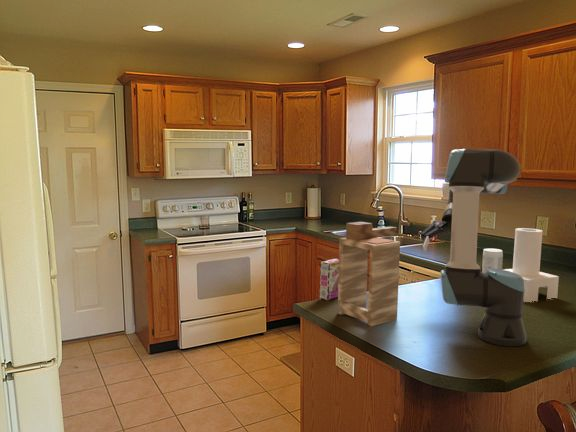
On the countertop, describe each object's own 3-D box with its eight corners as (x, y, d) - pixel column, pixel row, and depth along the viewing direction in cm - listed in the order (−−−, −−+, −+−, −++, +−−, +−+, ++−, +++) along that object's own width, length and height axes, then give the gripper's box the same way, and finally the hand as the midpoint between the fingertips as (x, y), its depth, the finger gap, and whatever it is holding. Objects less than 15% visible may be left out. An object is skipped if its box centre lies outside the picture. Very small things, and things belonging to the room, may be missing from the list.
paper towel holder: (492, 291, 223) (496, 228, 219) (521, 287, 230) (526, 226, 227) (526, 302, 206) (531, 234, 202) (557, 298, 213) (562, 231, 210)
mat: (394, 241, 179) (394, 240, 179) (376, 244, 173) (376, 243, 173) (378, 238, 185) (378, 237, 185) (360, 241, 179) (360, 240, 179)
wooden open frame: (396, 319, 183) (400, 241, 179) (371, 326, 174) (374, 245, 171) (362, 307, 197) (364, 235, 193) (337, 313, 188) (339, 238, 185)
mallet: (387, 233, 199) (388, 218, 199) (398, 235, 195) (399, 220, 194) (346, 238, 185) (346, 223, 184) (357, 240, 180) (357, 224, 179)
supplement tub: (496, 275, 254) (498, 248, 252) (505, 279, 245) (507, 251, 243) (478, 275, 254) (480, 248, 252) (486, 279, 244) (488, 251, 243)
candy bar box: (328, 301, 205) (329, 263, 203) (319, 299, 208) (319, 261, 206) (342, 295, 213) (343, 259, 211) (333, 293, 216) (334, 257, 214)
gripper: (484, 223, 199) (474, 259, 186) (425, 221, 213) (412, 254, 200) (482, 209, 195) (472, 245, 182) (422, 208, 209) (408, 241, 196)
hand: (440, 250), depth 191 cm, fingers open, 13 cm apart
